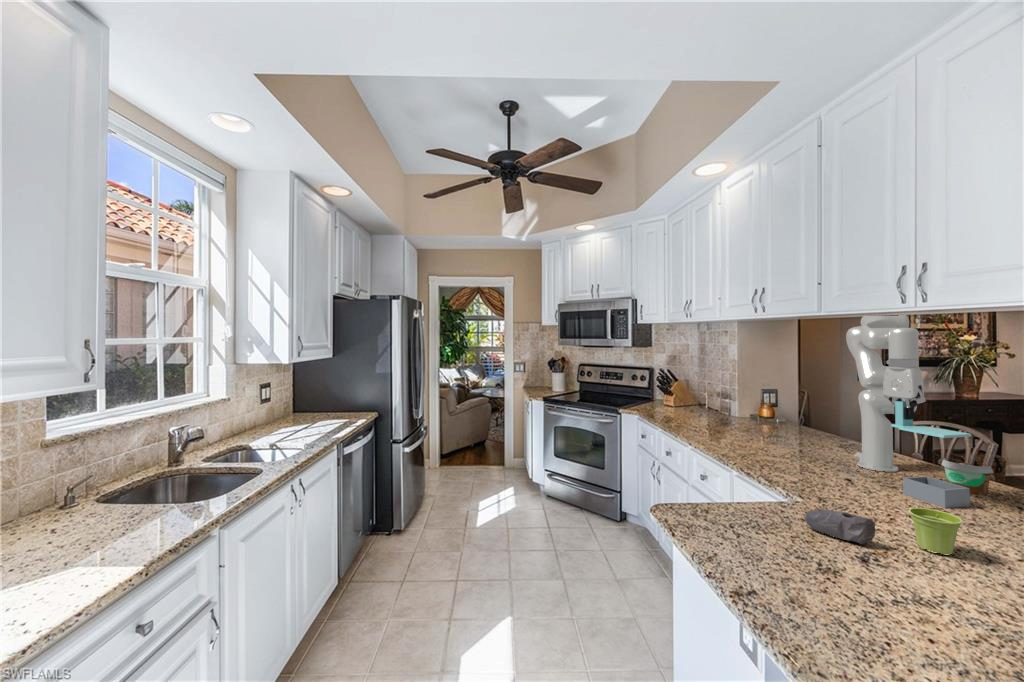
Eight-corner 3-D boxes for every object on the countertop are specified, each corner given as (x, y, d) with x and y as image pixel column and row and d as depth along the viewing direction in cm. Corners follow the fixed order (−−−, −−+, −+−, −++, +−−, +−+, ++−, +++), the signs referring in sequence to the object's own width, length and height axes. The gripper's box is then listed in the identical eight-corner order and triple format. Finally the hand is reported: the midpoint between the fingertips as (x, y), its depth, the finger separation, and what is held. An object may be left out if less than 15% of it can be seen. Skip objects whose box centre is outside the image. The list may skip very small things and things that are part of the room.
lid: (885, 426, 146) (884, 401, 146) (910, 425, 147) (909, 400, 147) (944, 438, 128) (943, 408, 128) (971, 436, 130) (971, 407, 130)
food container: (934, 488, 147) (934, 459, 147) (943, 485, 150) (942, 457, 150) (985, 500, 136) (985, 469, 136) (993, 497, 139) (993, 466, 139)
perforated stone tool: (801, 530, 116) (800, 504, 116) (808, 525, 120) (808, 500, 120) (870, 551, 104) (870, 523, 104) (877, 545, 107) (876, 517, 107)
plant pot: (922, 538, 111) (921, 505, 111) (971, 555, 102) (971, 519, 102) (900, 545, 107) (899, 510, 107) (949, 563, 98) (949, 525, 98)
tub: (903, 495, 141) (902, 477, 141) (926, 494, 142) (925, 476, 142) (945, 510, 129) (944, 490, 129) (969, 507, 130) (969, 488, 130)
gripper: (870, 363, 152) (871, 415, 152) (920, 365, 136) (920, 423, 136) (888, 362, 153) (889, 414, 153) (939, 365, 137) (940, 422, 137)
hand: (904, 418), depth 144 cm, fingers closed on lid
